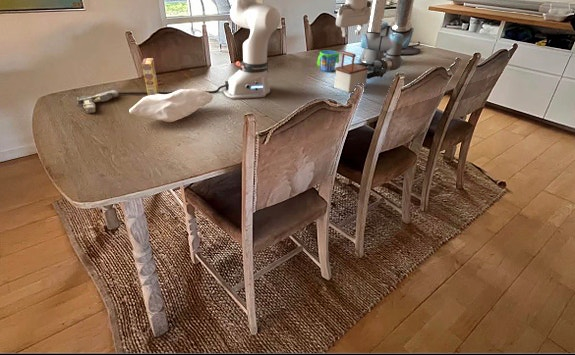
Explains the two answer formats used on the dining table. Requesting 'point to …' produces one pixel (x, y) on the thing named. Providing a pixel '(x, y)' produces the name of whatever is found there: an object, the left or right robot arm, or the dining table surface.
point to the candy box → (150, 76)
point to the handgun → (95, 100)
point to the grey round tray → (409, 50)
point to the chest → (349, 80)
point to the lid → (350, 65)
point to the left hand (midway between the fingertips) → (350, 35)
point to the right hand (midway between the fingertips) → (356, 72)
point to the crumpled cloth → (171, 104)
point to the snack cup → (328, 60)
